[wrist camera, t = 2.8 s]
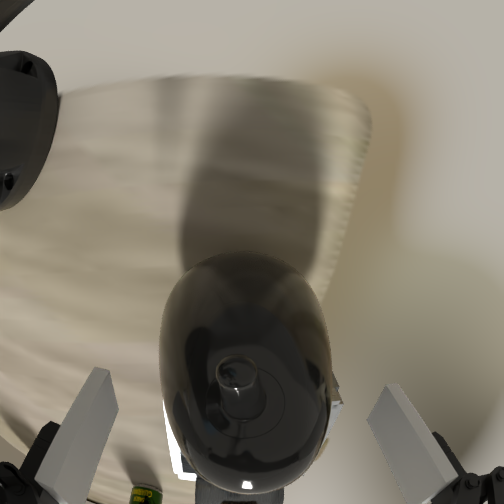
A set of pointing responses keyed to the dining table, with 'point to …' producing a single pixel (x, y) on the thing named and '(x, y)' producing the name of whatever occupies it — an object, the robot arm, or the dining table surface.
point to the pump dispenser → (246, 371)
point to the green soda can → (145, 495)
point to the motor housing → (218, 500)
